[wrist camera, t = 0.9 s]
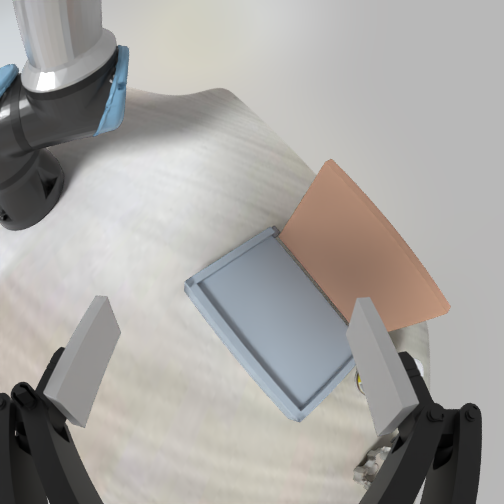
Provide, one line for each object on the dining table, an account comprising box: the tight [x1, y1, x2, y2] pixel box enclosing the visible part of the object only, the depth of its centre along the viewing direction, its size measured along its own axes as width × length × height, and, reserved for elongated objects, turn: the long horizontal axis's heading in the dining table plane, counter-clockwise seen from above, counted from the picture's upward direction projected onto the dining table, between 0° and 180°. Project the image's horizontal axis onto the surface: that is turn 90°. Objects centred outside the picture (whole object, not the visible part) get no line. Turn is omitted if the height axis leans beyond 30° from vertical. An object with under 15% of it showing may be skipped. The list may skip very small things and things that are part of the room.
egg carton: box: [353, 447, 391, 490], centre depth 28 cm, size 11×8×4 cm
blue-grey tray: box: [184, 226, 356, 422], centre depth 35 cm, size 22×15×4 cm
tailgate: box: [279, 159, 450, 332], centre depth 30 cm, size 19×1×16 cm, turn 39°
